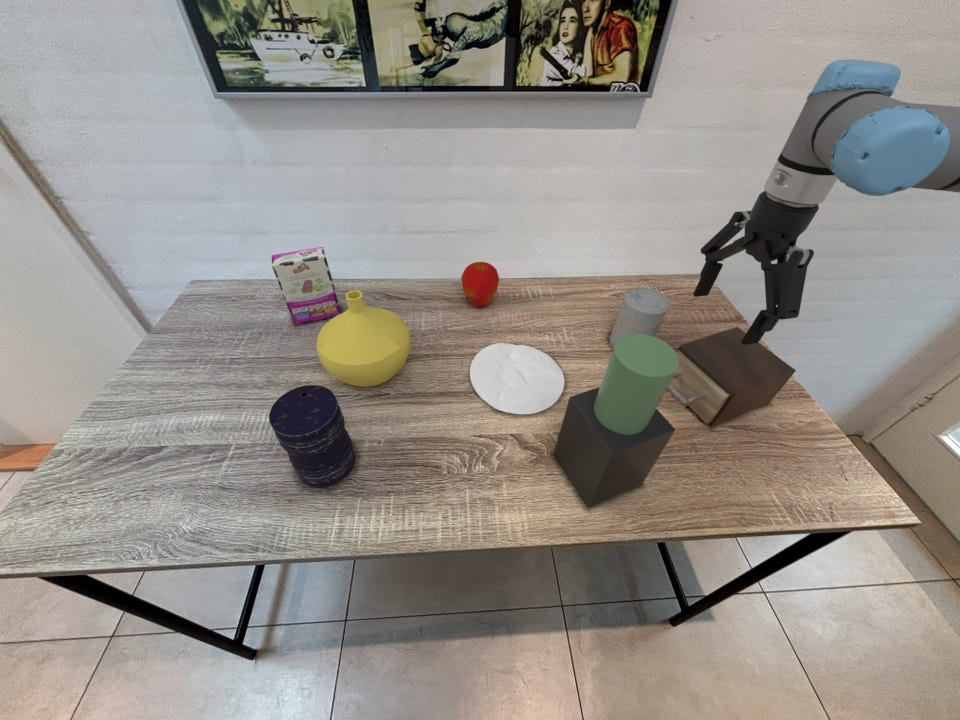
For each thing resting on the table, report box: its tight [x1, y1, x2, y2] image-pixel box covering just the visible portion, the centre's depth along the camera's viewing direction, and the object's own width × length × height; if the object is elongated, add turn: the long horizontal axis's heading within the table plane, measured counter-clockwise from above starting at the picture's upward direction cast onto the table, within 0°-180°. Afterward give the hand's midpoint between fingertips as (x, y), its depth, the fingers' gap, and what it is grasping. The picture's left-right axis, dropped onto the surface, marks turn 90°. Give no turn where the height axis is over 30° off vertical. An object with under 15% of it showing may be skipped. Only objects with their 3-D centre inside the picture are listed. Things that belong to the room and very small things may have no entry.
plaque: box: [469, 342, 565, 415], centre depth 87 cm, size 20×20×2 cm
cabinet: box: [675, 326, 797, 428], centre depth 82 cm, size 16×14×10 cm
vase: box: [315, 290, 412, 388], centre depth 81 cm, size 18×18×19 cm
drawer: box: [666, 351, 729, 425], centre depth 81 cm, size 20×13×8 cm, turn 113°
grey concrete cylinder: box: [609, 286, 671, 349], centre depth 92 cm, size 10×10×12 cm
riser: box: [553, 386, 676, 509], centre depth 66 cm, size 11×11×16 cm
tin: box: [594, 334, 679, 435], centre depth 56 cm, size 8×8×12 cm
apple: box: [460, 261, 500, 308], centre depth 101 cm, size 9×9×12 cm
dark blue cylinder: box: [268, 384, 357, 490], centre depth 66 cm, size 10×10×15 cm
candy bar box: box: [271, 246, 342, 326], centre depth 94 cm, size 11×5×16 cm, turn 112°
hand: (723, 317), depth 72 cm, fingers open, 13 cm apart
